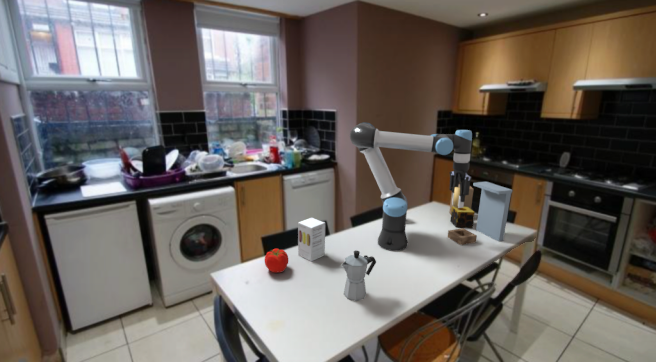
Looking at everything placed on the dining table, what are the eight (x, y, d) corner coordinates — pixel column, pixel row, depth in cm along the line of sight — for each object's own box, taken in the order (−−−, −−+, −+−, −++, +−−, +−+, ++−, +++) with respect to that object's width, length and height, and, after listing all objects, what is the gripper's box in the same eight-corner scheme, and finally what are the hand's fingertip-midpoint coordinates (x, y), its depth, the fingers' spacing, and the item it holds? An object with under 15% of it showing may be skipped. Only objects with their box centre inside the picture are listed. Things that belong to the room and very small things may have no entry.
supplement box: (297, 254, 152) (297, 222, 147) (311, 248, 158) (311, 216, 154) (311, 262, 145) (311, 227, 141) (325, 255, 152) (325, 222, 148)
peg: (456, 208, 161) (458, 189, 159) (451, 205, 165) (453, 187, 163) (463, 207, 163) (464, 188, 160) (457, 204, 166) (459, 186, 164)
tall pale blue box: (490, 243, 166) (499, 191, 159) (466, 230, 181) (473, 182, 174) (503, 241, 169) (512, 189, 162) (479, 228, 184) (486, 181, 177)
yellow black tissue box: (473, 228, 185) (475, 212, 183) (456, 228, 185) (458, 212, 183) (466, 221, 195) (468, 206, 193) (449, 221, 195) (451, 206, 193)
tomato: (270, 279, 131) (270, 260, 129) (261, 267, 140) (260, 249, 138) (293, 272, 137) (293, 253, 135) (283, 261, 146) (282, 243, 144)
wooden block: (464, 213, 208) (468, 184, 203) (469, 219, 199) (473, 188, 194) (449, 213, 209) (452, 183, 204) (453, 218, 200) (457, 188, 195)
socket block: (460, 245, 164) (461, 238, 163) (447, 237, 173) (448, 230, 172) (475, 242, 167) (476, 235, 166) (462, 234, 176) (463, 228, 175)
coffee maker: (345, 304, 116) (346, 260, 111) (335, 291, 123) (336, 249, 119) (380, 295, 122) (382, 252, 117) (368, 283, 129) (370, 242, 125)
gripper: (480, 164, 151) (475, 210, 157) (455, 158, 167) (452, 200, 173) (467, 165, 149) (463, 212, 155) (444, 159, 165) (440, 202, 171)
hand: (457, 205), depth 164 cm, fingers closed on peg, 4 cm apart
